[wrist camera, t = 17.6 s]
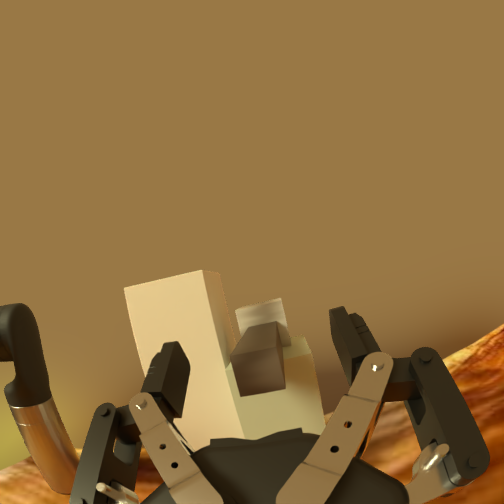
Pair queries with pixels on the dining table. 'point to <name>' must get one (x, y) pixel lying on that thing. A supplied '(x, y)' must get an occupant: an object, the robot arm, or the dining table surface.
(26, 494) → the dining table surface
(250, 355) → the handle
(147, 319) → the tall stand
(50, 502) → the dining table surface
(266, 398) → the grey green tall block
